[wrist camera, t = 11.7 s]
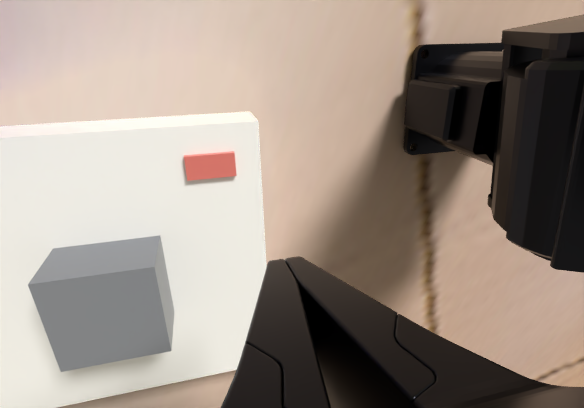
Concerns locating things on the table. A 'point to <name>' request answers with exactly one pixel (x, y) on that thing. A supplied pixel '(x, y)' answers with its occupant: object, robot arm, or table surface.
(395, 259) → the table surface
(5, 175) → the socket plate
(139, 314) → the plug
